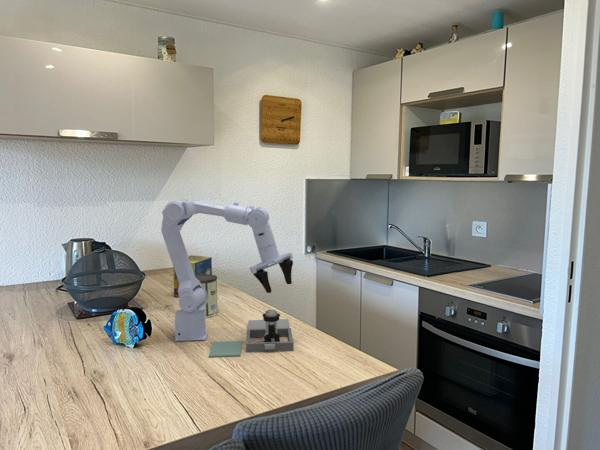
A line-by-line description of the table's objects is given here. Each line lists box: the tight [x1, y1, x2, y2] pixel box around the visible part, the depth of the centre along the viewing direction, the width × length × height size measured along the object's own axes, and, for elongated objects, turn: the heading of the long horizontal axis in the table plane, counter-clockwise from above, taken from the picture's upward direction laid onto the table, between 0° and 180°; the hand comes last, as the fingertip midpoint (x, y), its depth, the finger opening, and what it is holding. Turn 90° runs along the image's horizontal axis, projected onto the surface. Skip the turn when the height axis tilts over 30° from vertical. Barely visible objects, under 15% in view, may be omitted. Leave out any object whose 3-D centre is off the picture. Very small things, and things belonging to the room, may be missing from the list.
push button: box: [258, 309, 281, 342], centre depth 141 cm, size 7×5×10 cm
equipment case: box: [245, 318, 294, 353], centre depth 147 cm, size 14×27×2 cm, turn 5°
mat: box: [208, 340, 243, 358], centre depth 136 cm, size 9×11×1 cm
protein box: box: [172, 255, 213, 298], centre depth 199 cm, size 10×15×16 cm
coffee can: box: [195, 274, 219, 319], centre depth 170 cm, size 10×10×14 cm
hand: (279, 288), depth 142 cm, fingers open, 7 cm apart
